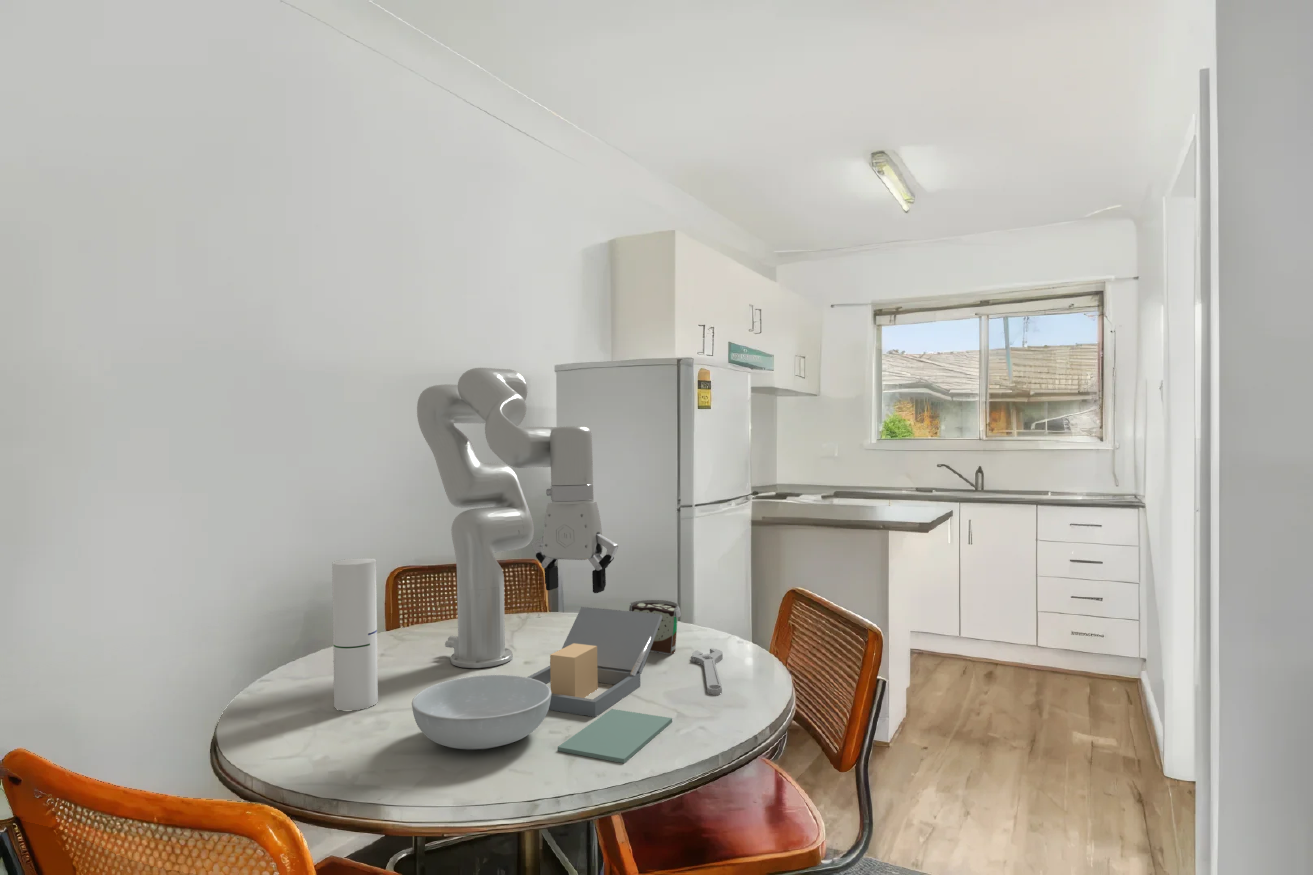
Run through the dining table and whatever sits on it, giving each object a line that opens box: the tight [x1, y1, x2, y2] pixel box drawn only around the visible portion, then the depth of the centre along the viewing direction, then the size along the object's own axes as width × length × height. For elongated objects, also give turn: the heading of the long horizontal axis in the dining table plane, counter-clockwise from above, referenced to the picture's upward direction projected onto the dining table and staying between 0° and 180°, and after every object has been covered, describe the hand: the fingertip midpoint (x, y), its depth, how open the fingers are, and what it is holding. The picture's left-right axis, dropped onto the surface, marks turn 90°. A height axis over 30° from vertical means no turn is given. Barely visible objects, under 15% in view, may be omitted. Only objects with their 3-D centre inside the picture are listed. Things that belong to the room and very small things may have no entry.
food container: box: [628, 599, 682, 656], centre depth 166 cm, size 12×6×10 cm, turn 58°
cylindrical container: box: [331, 557, 379, 711], centre depth 134 cm, size 7×7×25 cm
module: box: [549, 643, 599, 698], centre depth 137 cm, size 5×8×8 cm, turn 155°
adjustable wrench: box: [690, 648, 724, 696], centre depth 149 cm, size 25×6×2 cm, turn 175°
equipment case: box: [527, 606, 662, 718], centre depth 142 cm, size 18×27×11 cm, turn 155°
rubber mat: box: [557, 708, 673, 764], centre depth 118 cm, size 11×17×1 cm, turn 155°
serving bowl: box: [411, 674, 551, 750], centre depth 118 cm, size 21×21×7 cm
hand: (575, 590), depth 137 cm, fingers open, 9 cm apart
